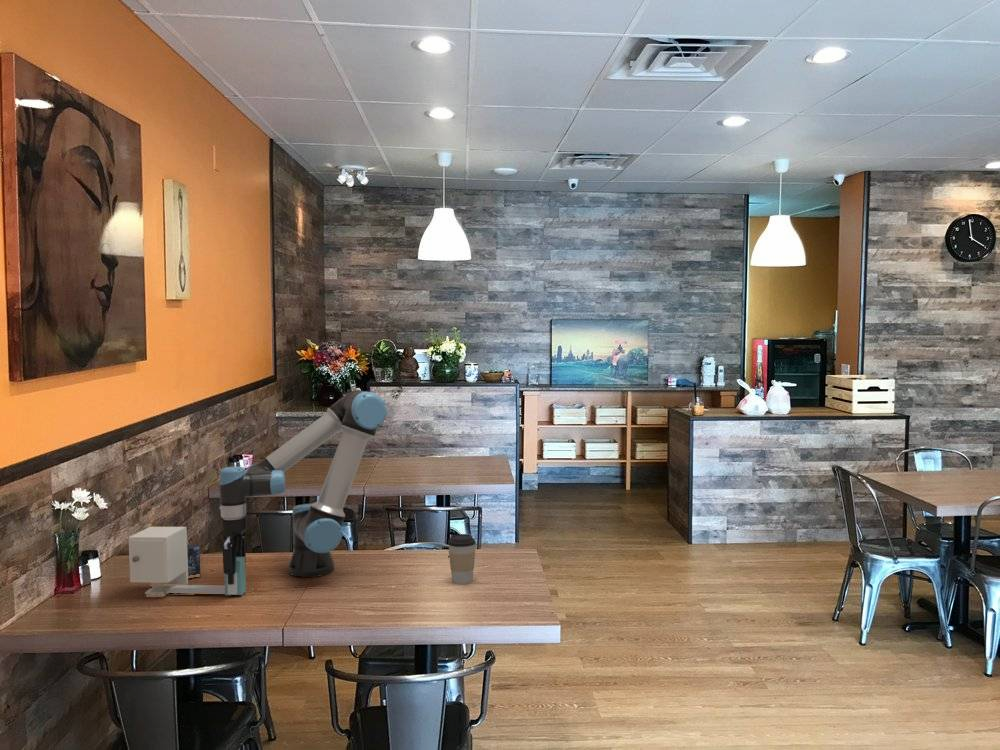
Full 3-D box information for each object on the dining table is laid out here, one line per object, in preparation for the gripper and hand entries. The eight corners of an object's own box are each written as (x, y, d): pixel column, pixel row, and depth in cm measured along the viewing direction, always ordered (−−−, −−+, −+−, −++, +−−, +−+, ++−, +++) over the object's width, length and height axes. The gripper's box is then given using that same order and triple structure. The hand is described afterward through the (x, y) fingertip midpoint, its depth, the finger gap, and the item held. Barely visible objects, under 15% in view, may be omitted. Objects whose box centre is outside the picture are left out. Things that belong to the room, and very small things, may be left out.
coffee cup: (478, 576, 259) (477, 532, 258) (474, 585, 250) (473, 539, 249) (451, 576, 259) (450, 531, 259) (446, 585, 250) (445, 539, 250)
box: (177, 582, 256) (176, 551, 256) (170, 578, 261) (169, 547, 260) (201, 577, 262) (200, 546, 261) (194, 573, 266) (193, 543, 265)
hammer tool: (246, 591, 245) (245, 556, 245) (240, 595, 241) (239, 560, 241) (174, 590, 247) (173, 556, 246) (168, 594, 243) (167, 559, 242)
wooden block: (172, 592, 248) (172, 586, 248) (164, 598, 242) (163, 592, 242) (153, 592, 248) (153, 586, 248) (145, 598, 242) (144, 592, 242)
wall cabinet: (188, 586, 252) (186, 526, 251) (166, 601, 238) (164, 538, 237) (152, 586, 253) (150, 526, 252) (128, 601, 239) (126, 538, 238)
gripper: (232, 510, 251) (234, 582, 252) (209, 523, 234) (212, 600, 235) (255, 510, 250) (257, 582, 252) (234, 524, 233) (236, 600, 235)
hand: (235, 591), depth 243 cm, fingers closed on hammer tool, 4 cm apart
